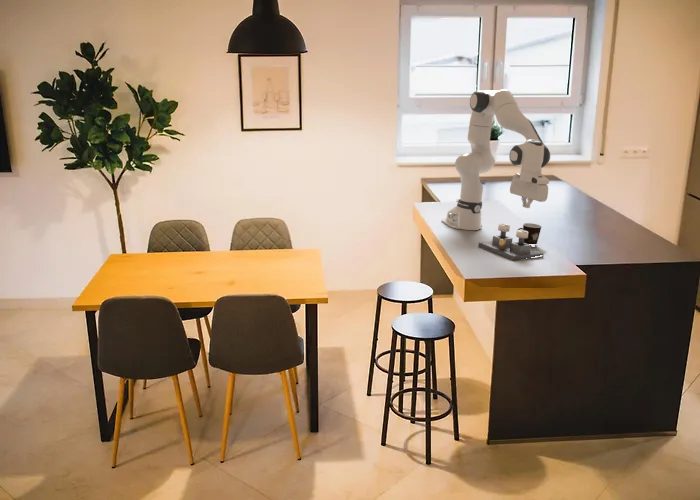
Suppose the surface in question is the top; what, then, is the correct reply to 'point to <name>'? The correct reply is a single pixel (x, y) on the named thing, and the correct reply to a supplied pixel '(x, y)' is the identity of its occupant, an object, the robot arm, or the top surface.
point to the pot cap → (502, 243)
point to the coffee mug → (531, 232)
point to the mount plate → (510, 249)
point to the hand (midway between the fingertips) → (526, 207)
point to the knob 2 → (521, 236)
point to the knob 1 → (503, 229)
